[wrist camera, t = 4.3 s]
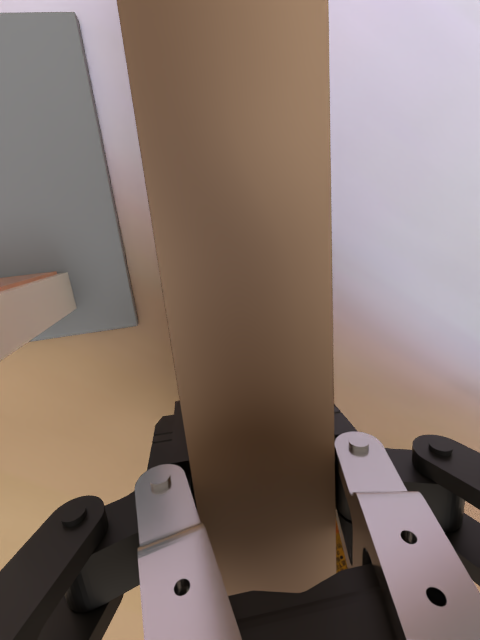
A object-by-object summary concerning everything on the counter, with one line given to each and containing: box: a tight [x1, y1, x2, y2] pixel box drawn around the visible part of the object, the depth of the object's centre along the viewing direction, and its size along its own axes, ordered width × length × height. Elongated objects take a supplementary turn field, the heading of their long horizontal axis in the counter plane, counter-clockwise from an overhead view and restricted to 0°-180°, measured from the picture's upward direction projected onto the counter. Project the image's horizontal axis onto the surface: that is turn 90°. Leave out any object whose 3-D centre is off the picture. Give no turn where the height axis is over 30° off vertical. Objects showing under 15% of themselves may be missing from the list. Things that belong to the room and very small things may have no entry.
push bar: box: [117, 0, 336, 596], centre depth 9 cm, size 4×24×5 cm, turn 5°
